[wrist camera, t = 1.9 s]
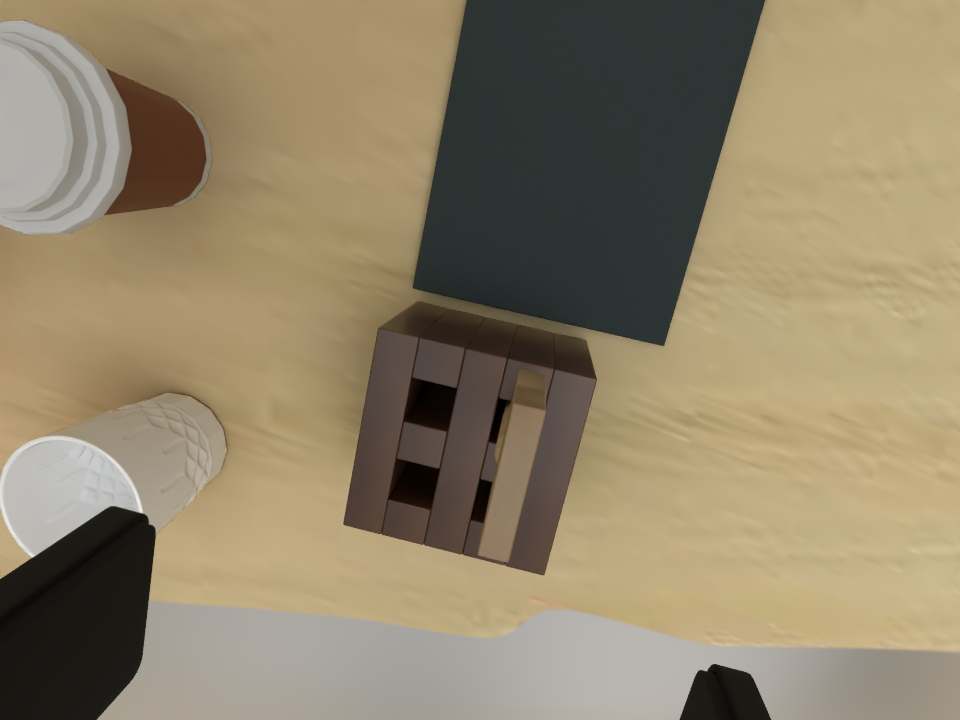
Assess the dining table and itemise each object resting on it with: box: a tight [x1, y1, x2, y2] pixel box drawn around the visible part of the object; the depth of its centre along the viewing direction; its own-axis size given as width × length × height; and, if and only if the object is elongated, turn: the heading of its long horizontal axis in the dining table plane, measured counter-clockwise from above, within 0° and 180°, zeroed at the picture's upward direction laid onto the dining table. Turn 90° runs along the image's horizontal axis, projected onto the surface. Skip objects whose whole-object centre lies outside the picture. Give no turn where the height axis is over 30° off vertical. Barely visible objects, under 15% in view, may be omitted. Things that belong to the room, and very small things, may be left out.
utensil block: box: [343, 302, 597, 575], centre depth 35 cm, size 10×10×9 cm
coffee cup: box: [0, 20, 212, 235], centre depth 33 cm, size 9×9×12 cm
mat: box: [413, 0, 765, 346], centre depth 35 cm, size 15×24×1 cm, turn 168°
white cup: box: [0, 392, 227, 558], centre depth 38 cm, size 8×8×10 cm
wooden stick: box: [477, 369, 546, 563], centre depth 29 cm, size 1×5×20 cm, turn 168°
